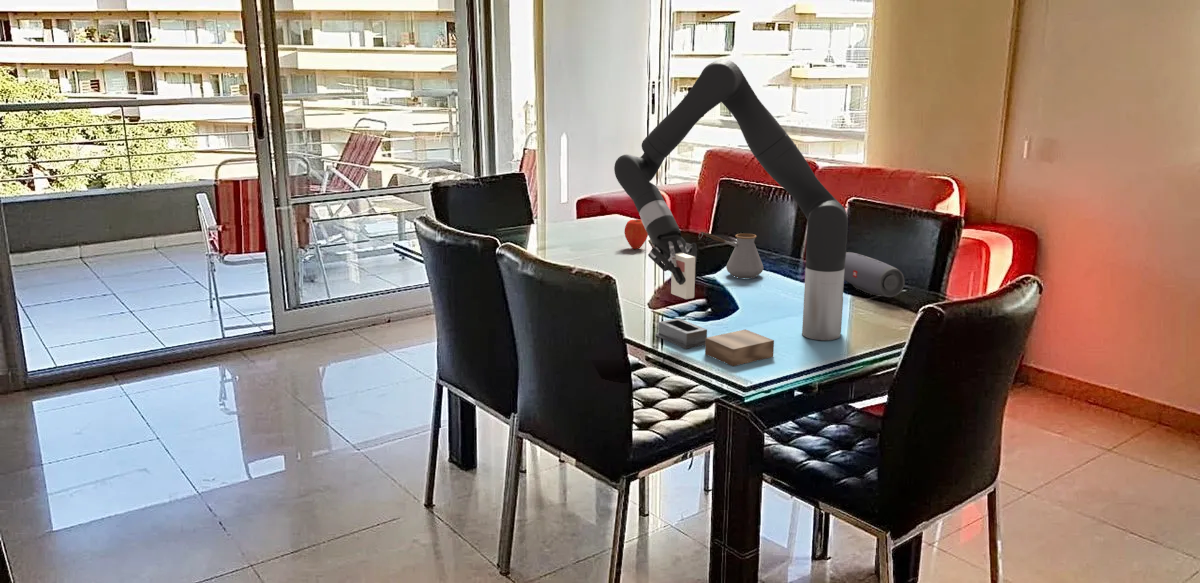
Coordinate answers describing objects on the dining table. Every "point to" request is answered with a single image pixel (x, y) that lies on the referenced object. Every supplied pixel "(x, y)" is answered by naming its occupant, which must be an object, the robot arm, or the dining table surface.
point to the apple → (635, 233)
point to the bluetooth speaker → (873, 275)
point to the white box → (688, 271)
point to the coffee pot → (742, 256)
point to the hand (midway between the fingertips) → (688, 281)
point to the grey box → (682, 333)
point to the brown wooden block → (739, 347)
